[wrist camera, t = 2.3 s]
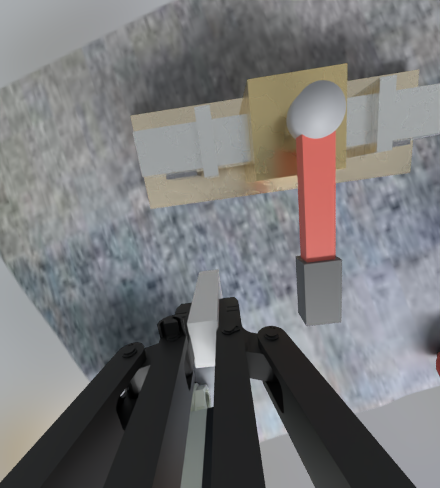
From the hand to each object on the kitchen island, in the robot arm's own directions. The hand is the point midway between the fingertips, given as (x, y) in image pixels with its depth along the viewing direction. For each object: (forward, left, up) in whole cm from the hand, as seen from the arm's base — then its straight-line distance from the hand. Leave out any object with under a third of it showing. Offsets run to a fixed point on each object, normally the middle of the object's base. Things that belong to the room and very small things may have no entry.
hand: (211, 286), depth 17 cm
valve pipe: (-8, -11, -12) cm, 18 cm away
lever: (-8, -4, 0) cm, 9 cm away
